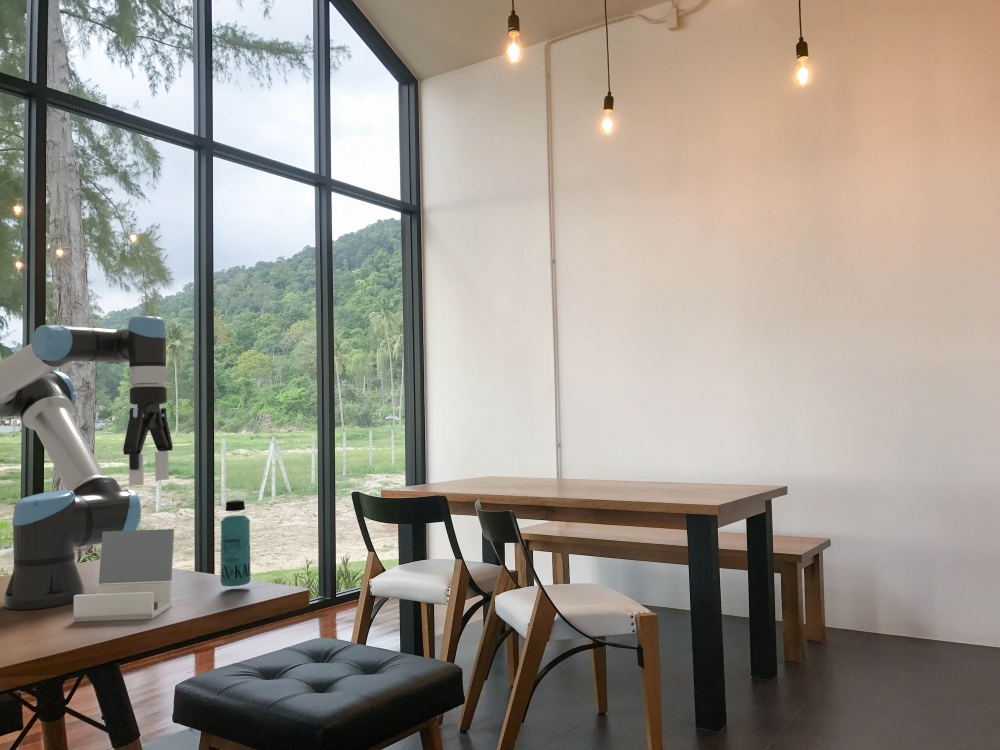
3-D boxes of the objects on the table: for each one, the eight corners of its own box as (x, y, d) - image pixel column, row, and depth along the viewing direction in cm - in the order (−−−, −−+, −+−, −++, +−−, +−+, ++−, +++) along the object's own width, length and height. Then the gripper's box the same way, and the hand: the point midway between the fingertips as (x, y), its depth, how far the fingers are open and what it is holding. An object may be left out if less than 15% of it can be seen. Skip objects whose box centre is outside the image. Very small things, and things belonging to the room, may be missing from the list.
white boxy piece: (98, 609, 164) (97, 584, 164) (171, 606, 165) (171, 581, 165) (73, 621, 154) (73, 596, 154) (152, 618, 155) (151, 592, 155)
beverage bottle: (220, 588, 180) (218, 500, 181) (250, 585, 182) (249, 498, 183) (221, 594, 174) (219, 503, 175) (252, 591, 176) (251, 500, 177)
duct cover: (98, 583, 164) (100, 583, 165) (170, 580, 165) (171, 580, 166) (102, 531, 167) (104, 531, 168) (172, 528, 167) (174, 529, 168)
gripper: (154, 388, 188) (155, 478, 187) (104, 385, 163) (105, 488, 162) (186, 387, 189) (187, 477, 188) (141, 383, 164) (143, 487, 163)
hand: (149, 482), depth 175 cm, fingers open, 13 cm apart
